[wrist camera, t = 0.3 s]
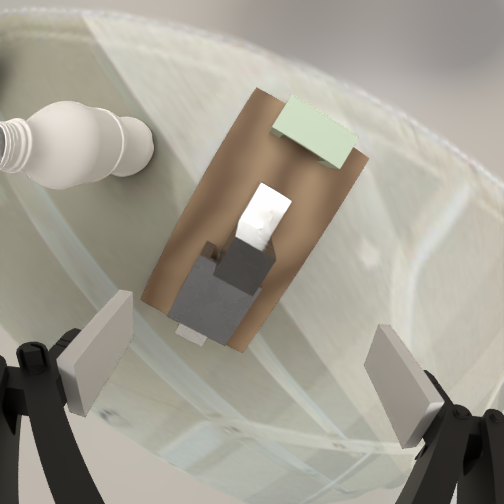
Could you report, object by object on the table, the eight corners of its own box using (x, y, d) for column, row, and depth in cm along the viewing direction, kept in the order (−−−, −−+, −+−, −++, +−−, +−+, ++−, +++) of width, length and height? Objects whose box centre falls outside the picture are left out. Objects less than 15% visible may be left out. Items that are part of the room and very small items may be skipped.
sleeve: (177, 294, 41) (166, 315, 35) (207, 240, 39) (199, 254, 33) (227, 321, 42) (224, 345, 37) (260, 269, 40) (262, 288, 34)
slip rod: (179, 318, 42) (158, 370, 31) (259, 180, 37) (263, 189, 26) (205, 331, 43) (192, 387, 31) (288, 197, 38) (304, 214, 26)
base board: (142, 296, 42) (140, 299, 41) (256, 89, 35) (256, 87, 34) (242, 349, 45) (242, 352, 44) (366, 158, 37) (369, 158, 36)
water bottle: (121, 111, 35) (-19, 76, 11) (169, 131, 36) (51, 102, 12) (99, 162, 37) (-49, 183, 13) (144, 183, 38) (13, 227, 14)
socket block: (268, 131, 35) (272, 126, 30) (286, 103, 34) (292, 94, 29) (326, 167, 37) (339, 169, 31) (343, 139, 36) (359, 137, 30)
